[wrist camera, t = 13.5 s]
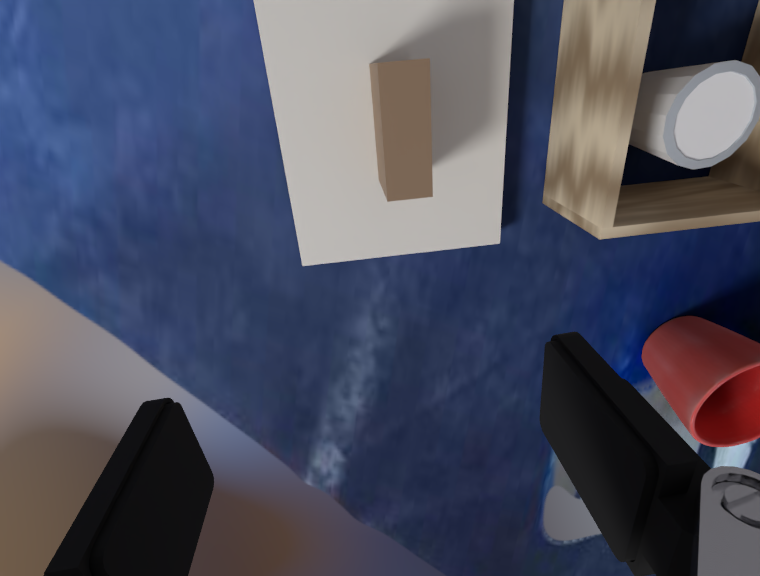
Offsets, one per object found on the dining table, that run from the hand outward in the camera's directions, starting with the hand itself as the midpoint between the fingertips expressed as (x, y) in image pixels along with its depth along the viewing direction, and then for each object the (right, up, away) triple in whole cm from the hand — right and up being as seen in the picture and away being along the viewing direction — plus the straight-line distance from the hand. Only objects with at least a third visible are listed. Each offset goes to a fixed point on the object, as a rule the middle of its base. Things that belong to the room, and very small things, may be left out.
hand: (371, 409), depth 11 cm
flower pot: (+33, -3, +36) cm, 49 cm away
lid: (+1, +16, +21) cm, 26 cm away
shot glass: (+22, +18, +24) cm, 37 cm away
